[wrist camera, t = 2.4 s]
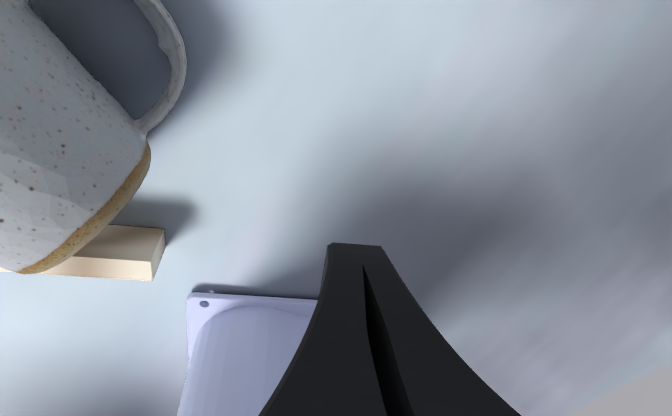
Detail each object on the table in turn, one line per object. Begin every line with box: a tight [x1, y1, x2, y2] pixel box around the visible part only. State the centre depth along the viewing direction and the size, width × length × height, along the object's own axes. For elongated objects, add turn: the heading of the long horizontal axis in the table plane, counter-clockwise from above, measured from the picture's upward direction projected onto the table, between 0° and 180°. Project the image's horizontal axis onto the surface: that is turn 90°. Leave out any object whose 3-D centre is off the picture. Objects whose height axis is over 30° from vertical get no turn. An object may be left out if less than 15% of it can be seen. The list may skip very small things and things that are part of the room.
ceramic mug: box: [0, 0, 187, 274], centre depth 16 cm, size 11×8×8 cm
